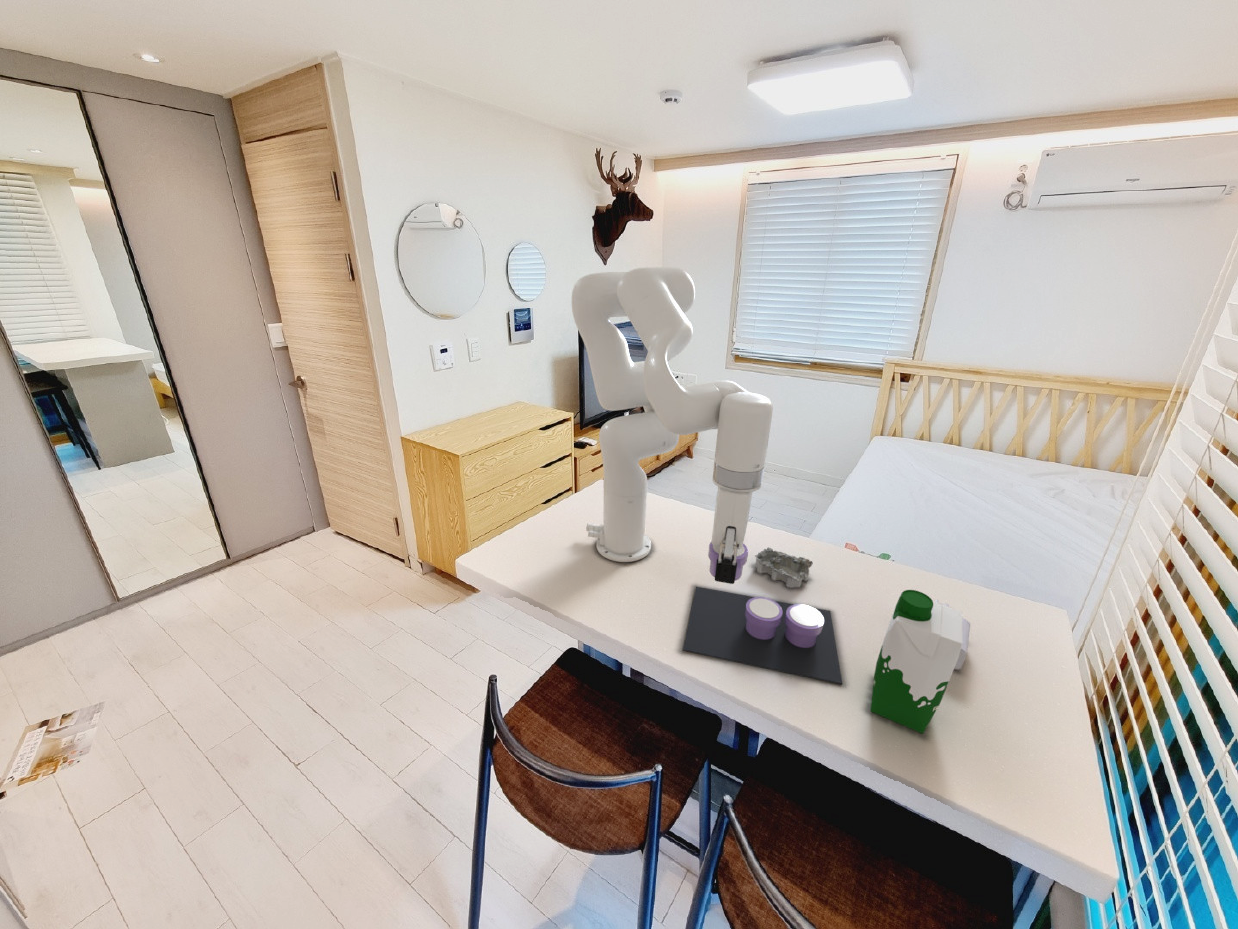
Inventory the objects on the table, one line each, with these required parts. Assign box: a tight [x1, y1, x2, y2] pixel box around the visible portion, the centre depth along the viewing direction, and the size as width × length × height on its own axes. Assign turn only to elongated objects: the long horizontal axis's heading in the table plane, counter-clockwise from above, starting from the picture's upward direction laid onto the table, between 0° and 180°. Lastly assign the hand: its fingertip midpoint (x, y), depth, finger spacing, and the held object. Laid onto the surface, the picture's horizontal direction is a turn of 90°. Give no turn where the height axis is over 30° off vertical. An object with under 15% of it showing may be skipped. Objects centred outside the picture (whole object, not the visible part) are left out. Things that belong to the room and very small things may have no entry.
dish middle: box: [745, 596, 783, 640], centre depth 91 cm, size 6×6×5 cm
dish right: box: [785, 603, 824, 648], centre depth 90 cm, size 6×6×5 cm
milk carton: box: [870, 589, 963, 735], centre depth 74 cm, size 9×9×20 cm
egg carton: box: [754, 546, 814, 588], centre depth 107 cm, size 11×8×4 cm
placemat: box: [682, 586, 843, 685], centre depth 92 cm, size 26×18×1 cm
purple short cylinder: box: [707, 539, 749, 582], centre depth 84 cm, size 6×6×5 cm
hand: (725, 568), depth 85 cm, fingers closed on purple short cylinder, 6 cm apart
